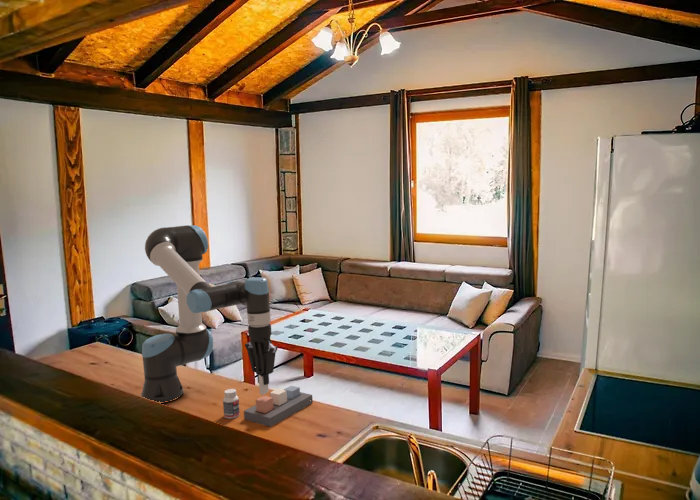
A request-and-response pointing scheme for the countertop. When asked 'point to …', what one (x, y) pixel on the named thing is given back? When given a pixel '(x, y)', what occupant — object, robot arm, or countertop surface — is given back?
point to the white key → (279, 396)
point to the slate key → (292, 392)
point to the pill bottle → (231, 404)
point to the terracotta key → (264, 404)
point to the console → (278, 410)
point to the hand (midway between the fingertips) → (264, 393)
